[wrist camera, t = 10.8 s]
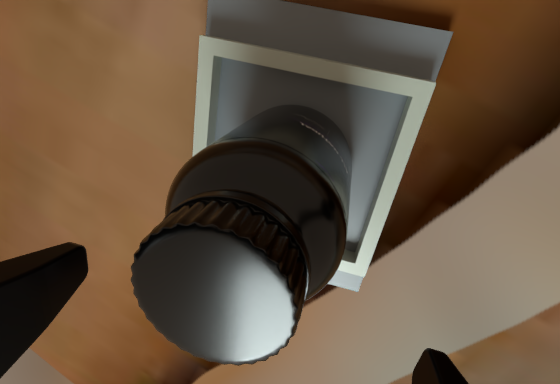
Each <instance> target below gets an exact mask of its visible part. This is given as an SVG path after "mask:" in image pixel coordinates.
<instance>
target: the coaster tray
mask: <svg viewBox="0 0 560 384" xmlns="http://www.w3.org/2000/svg"><path fill="white" fill-rule="evenodd" d="M452 34H453V32H450V31H445V30H439V29H434V28H428V27H423V26H417V25H412V24H407V23H401V22H396V21H390V20H385V19H379V18H374V17H369V16H363V15H358V14H352V13H347V12H341V11H336V10H330V9H325V8H320V7H314V6H309V5H303V4H298V3H292V2H287V1H281V0H208V8H207V24H206V35H200V38H199V55H198V72H197V90H196V107H195V124H194V141H193V156H194V155H196V154H197V153H198V152H200V151H201V150H202V149H204V148H205V147H207V146H208V145H210V144H212V143H213V142H215V141H216V140H218V139H219V138H221V137H223V136H224V135H226V134H227V133H229V132H230V131H232V130H234V129H235V128H237V127H238V126H240V125H241V124H243V123H245V122H246V121H248V120H249V119H251V118H252V117H254V116H256V115H257V114H259V113H261V112H263V111H265V110H267V109H269V108H273V107H276V106H280V105H301V106H306V107H309V108H312V109H315V110H317V111H319V112H321V113H323V114H324V115H326V116H327V117H328V118H330V119H331V120H332V121H333V122H334V123H335V124H336V125H337V126H338V127H339V129H340V130H341V131H342V133H343V134H344V136H345V138H346V140H347V142H348V145H349V148H350V152H351V158H352V179H351V192H350V206H349V219H348V232H347V240H346V246H345V251H344V255H343V258H342V261H341V263H340V266H339V268H338V269H337V271H336V273H335V275H334V276H333V277H332V279H331V280H330V281H329V282H328V284H331V285H335V286H338V287H342V288H345V289H349V290H353V291H356V292H358V290H359V287H360V284H361V282H362V279H363V277H365V275H366V272H367V269H368V267H369V264H370V261H371V259H372V256H373V253H374V250H375V248H376V245H377V242H378V240H379V237H380V234H381V231H382V229H383V226H384V223H385V221H386V218H387V215H388V213H389V210H390V207H391V204H392V202H393V199H394V196H395V194H396V191H397V188H398V185H399V183H400V180H401V177H402V175H403V172H404V169H405V167H406V164H407V161H408V158H409V156H410V153H411V150H412V148H413V145H414V142H415V139H416V137H417V134H418V131H419V129H420V126H421V123H422V121H423V118H424V115H425V112H426V110H427V107H428V104H429V102H430V99H431V96H432V93H433V91H434V88H435V85H436V83H435V80H436V78H437V75H438V72H439V70H440V67H441V64H442V61H443V59H444V56H445V53H446V50H447V48H448V45H449V42H450V40H451V37H452Z"/></svg>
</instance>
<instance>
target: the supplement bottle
mask: <svg viewBox="0 0 560 384" xmlns="http://www.w3.org/2000/svg"><path fill="white" fill-rule="evenodd" d="M351 179H352V158H351V152H350V148H349V145H348V142H347V140H346V138H345V136H344V134H343V133H342V131H341V130H340V129H339V127H338V126H337V125H336V124H335V123H334V122H333V121H332V120H331V119H330V118H328V117H327V116H326V115H324V114H323V113H321V112H319V111H317V110H315V109H312V108H309V107H306V106H301V105H280V106H276V107H273V108H269V109H267V110H265V111H263V112H261V113H259V114H257V115H256V116H254V117H252V118H251V119H249V120H248V121H246V122H245V123H243V124H241V125H240V126H238V127H237V128H235V129H234V130H232V131H230V132H229V133H227V134H226V135H224V136H223V137H221V138H219V139H218V140H216V141H215V142H213V143H212V144H210V145H208V146H207V147H205V148H204V149H202V150H201V151H200V152H198V153H197V154H196V155H194V156H193V157H192V158H191V159H190V160H189V161H188V162H186V163H185V164H184V166H183V167H182V168H181V169H180V171H179V172H178V174H177V175H176V177H175V178H174V180H173V182H172V184H171V187H170V190H169V193H168V196H167V201H166V208H165V218H164V219H163V221H162V222H161V223H160V224H159V225H158V226H156V227H155V228H154V229H153V230H152V232H151V233H150V234H148V235H147V236H146V237H145V238H144V239H143V240H142V242H141V243H140V247H139V249H138V250H137V251H136V252H135V254H134V263H133V264H132V266H131V270H132V274H133V275H132V277H131V282H132V284H133V286H134V295H135V296H136V298H137V299H138V304H139V307H140V308H141V309H142V310H143V311H144V313H145V315H146V318H147V319H148V320H149V321H150V322H151V323H152V324H153V325H154V327H155V328H156V330H157V331H159V332H160V333H162V334H163V335H164V336H165V337H166V338H167V340H168V341H170V342H172V343H174V344H176V345H177V346H178V347H179V348H180V349H182V350H184V351H187V352H189V353H191V354H192V355H193V356H196V357H201V358H204V359H205V360H207V361H211V362H218V363H221V364H234V365H242V364H254V363H256V362H257V361H266V360H267V359H268V358H269V357H270V356H274V355H277V354H278V352H279V350H280V349H281V348H284V347H286V346H287V345H288V343H289V340H290V338H291V337H292V336H294V334H295V332H296V329H297V325H298V321H299V319H300V316H301V312H302V308H303V304H304V303H305V300H307V299H309V298H311V297H312V296H314V295H315V294H317V293H318V292H319V291H320V290H321V289H323V288H324V287H325V286H326V285H327V283H328V282H329V281H330V280H331V279H332V277H333V276H334V275H335V273H336V271H337V269H338V268H339V266H340V263H341V261H342V258H343V255H344V251H345V246H346V240H347V232H348V219H349V206H350V192H351Z"/></svg>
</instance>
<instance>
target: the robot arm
mask: <svg viewBox="0 0 560 384" xmlns="http://www.w3.org/2000/svg"><path fill="white" fill-rule="evenodd" d="M87 273H88V262H87V253H86V249H85V247H84V246H82V245H79V244H76V243H72V242H67V243H64V244H60V245H57V246H53V247H50V248H46V249H43V250H40V251H36V252H33V253H29V254H26V255H22V256H19V257H15V258H12V259H9V260H5V261H2V262H0V378H1V377H2V376H3V375H4V374H5V373H6V372H7V371H8V369H9V368H10V367H11V366H12V365H13V364H14V363H15V362H16V361H17V360H18V359H19V358H20V357H21V355H22V354H23V353H24V352H25V351H26V350H27V349H28V348H29V347H30V346H31V345H32V344H33V343H34V341H35V340H36V339H37V338H38V337H39V336H40V335H41V334H42V333H43V332H44V330H45V329H46V328H47V327H48V326H49V324H50V323H51V322H52V321H53V320H54V318H55V317H56V316H57V314H58V313H59V312H60V311H61V309H62V308H63V307H64V305H65V304H66V303H67V301H68V300H69V299H70V298H71V296H72V295H73V294H74V292H75V291H76V290H77V289H78V287H79V286H80V285H81V283H82V282H83V281H84V279H85V278H86V276H87ZM412 384H469V383H468V382H467V381H466V379H465V378H464V377H463V375H462V374H461V373H460V372H459V370H458V369H457V368H456V366H455V365H454V364H453V362H452V361H451V360H450V358H449V357H448V356H447V355H446V354H445V353H443V352H441V351H437V350H434V349H431V348H427V349H425V350H424V352H423V353H422V356H421V357H420V359H419V361H418V363H417V364H416V366H415V368H414V371H413V375H412Z"/></svg>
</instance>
